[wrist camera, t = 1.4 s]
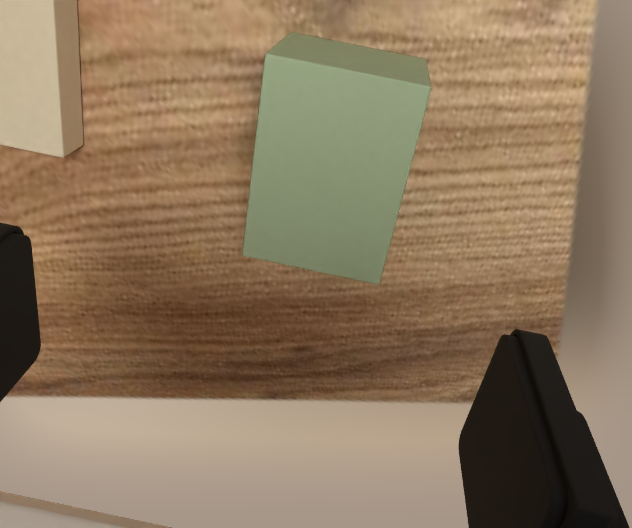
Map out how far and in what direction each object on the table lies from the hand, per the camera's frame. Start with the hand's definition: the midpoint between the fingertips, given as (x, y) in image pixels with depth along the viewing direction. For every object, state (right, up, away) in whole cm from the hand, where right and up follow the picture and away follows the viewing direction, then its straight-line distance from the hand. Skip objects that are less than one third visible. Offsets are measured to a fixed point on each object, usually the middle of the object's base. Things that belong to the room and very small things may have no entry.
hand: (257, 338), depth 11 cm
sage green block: (+2, +6, +11) cm, 13 cm away
